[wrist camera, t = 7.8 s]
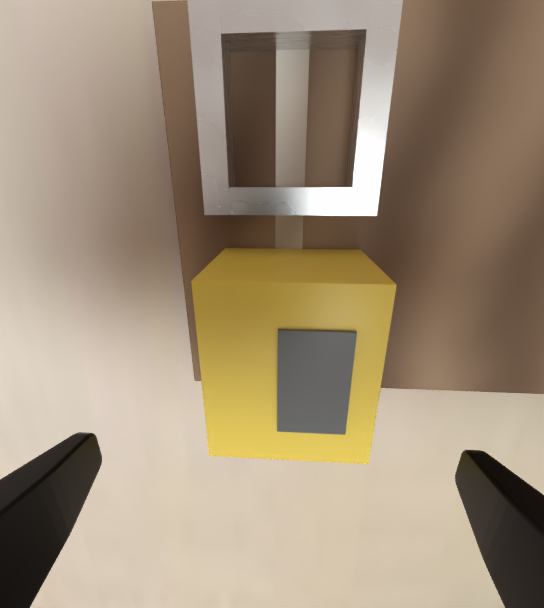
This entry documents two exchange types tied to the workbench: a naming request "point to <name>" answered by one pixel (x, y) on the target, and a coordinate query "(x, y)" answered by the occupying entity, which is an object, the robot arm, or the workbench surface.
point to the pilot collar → (289, 36)
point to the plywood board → (395, 181)
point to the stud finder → (292, 352)
